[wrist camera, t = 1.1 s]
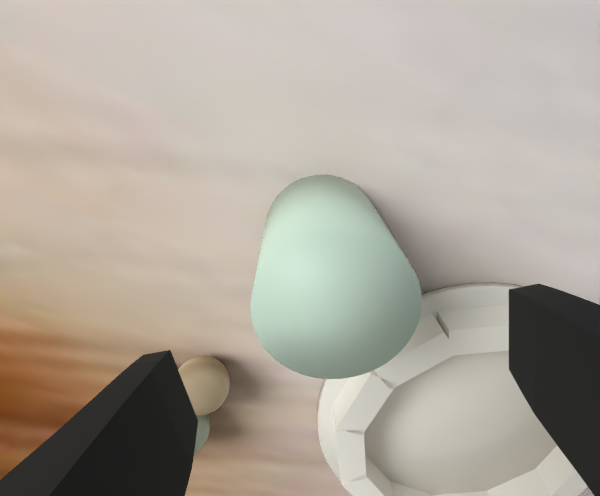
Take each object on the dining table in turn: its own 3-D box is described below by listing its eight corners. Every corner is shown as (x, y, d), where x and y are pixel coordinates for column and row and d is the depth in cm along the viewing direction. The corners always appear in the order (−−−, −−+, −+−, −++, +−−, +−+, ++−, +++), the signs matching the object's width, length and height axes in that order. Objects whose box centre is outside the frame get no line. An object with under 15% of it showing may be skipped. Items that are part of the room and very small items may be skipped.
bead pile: (228, 342, 18) (219, 379, 16) (245, 425, 20) (239, 468, 17) (93, 354, 18) (65, 393, 16) (123, 435, 20) (101, 480, 18)
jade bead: (375, 169, 15) (423, 221, 9) (378, 274, 17) (420, 371, 11) (258, 181, 15) (237, 239, 10) (273, 284, 17) (263, 385, 11)
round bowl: (640, 267, 17) (683, 290, 15) (583, 496, 22) (609, 535, 20) (303, 299, 17) (304, 326, 15) (328, 517, 22) (331, 557, 21)
